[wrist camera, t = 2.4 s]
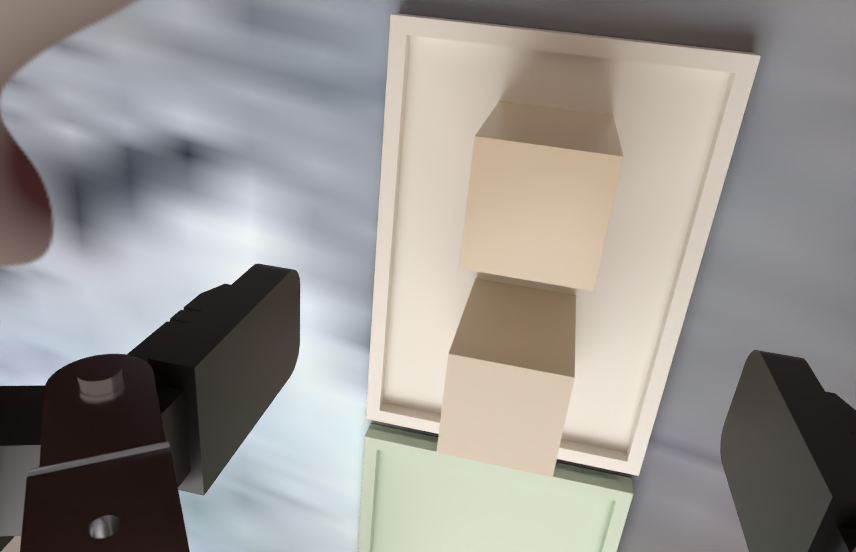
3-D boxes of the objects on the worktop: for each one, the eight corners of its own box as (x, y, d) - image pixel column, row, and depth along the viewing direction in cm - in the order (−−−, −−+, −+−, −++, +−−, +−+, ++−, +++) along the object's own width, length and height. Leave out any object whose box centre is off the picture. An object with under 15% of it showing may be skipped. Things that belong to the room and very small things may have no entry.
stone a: (613, 115, 23) (623, 156, 17) (590, 223, 24) (593, 291, 19) (498, 101, 23) (474, 136, 18) (484, 207, 25) (458, 268, 20)
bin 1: (753, 52, 21) (760, 55, 21) (636, 460, 29) (638, 475, 28) (398, 13, 23) (391, 14, 22) (372, 405, 30) (365, 418, 30)
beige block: (576, 295, 26) (574, 377, 20) (558, 380, 27) (552, 477, 22) (475, 278, 26) (448, 353, 21) (464, 362, 28) (436, 452, 23)
